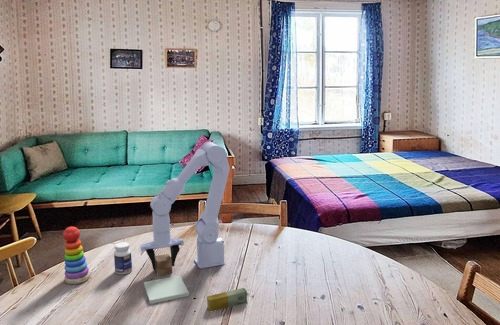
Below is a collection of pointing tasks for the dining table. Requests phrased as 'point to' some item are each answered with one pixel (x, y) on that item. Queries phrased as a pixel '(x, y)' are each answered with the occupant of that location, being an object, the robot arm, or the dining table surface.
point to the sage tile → (165, 289)
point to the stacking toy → (74, 258)
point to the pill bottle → (122, 258)
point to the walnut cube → (163, 264)
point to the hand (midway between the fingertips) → (163, 266)
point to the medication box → (227, 299)
